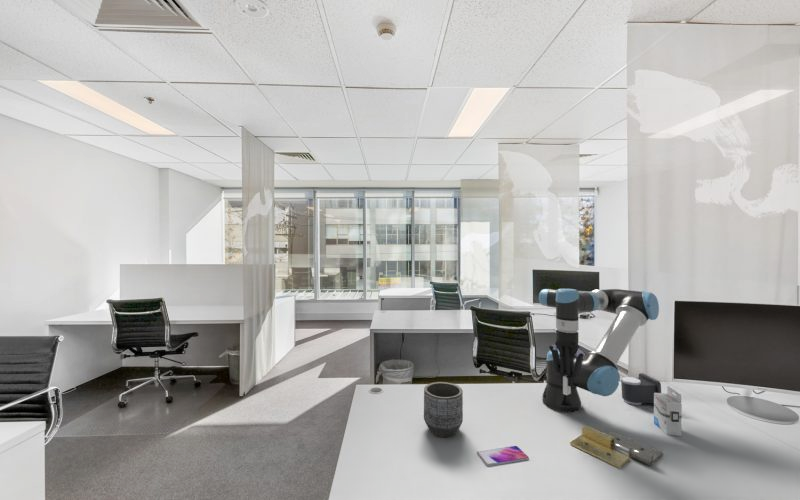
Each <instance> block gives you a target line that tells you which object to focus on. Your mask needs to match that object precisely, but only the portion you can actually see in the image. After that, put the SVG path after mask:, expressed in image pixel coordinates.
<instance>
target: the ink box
mask: <svg viewBox="0 0 800 500" xmlns="http://www.w3.org/2000/svg"><path fill="white" fill-rule="evenodd" d="M666 388H667V390H666V393H662V392H661V393H654V405H653V423H654V424H655V425H656V426H657V427H658V428H659V429H660V430H661V431H662V432H663V433H665V434H666V435H668V436H682V407H683V406H682V394H681V393H679V392H678V391H676V390H674V389H673V388H672V387H671V386H669V385H668V386H666ZM673 393H674V394H673Z"/></svg>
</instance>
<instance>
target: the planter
mask: <svg viewBox="0 0 800 500" xmlns="http://www.w3.org/2000/svg"><path fill="white" fill-rule="evenodd" d="M463 397H464V396H463V388H462V387H461V386H459V385H458V384H455V383H452V382H446V381H445V382H444V381H436V382H431V383H428V384H426V385H425V386H424V389H423V421H424V422H425V425H426V426H427V428H428V430H430V431H429V432H430V433H431V434H433V435H434V436H437V437H441V438H450V437H452V436H454V435H456V433H457V432H458V431H459V430H460V428H461V426H462V424H463V419H464V418H463V416H464V414H463V413H464V412H463V411H464V410H463V406H464V405H463V404H464V401H463V399H464V398H463Z"/></svg>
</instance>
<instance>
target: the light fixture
mask: <svg viewBox="0 0 800 500" xmlns="http://www.w3.org/2000/svg"><path fill="white" fill-rule="evenodd" d="M620 383H621V384H620V385H621V386H620V387H621V398H622V399H623V402H625V403H627V404H629V405H633V406H641V405H642V404H649V403H650V404H652V405H653V406H654V393H662V385H661V381H659V380H657V379H655V378H653V377H651V376H649V375H648V374H645V373H641V372H640V373H638V377H632V376H624V377H622V379H621V380H620Z"/></svg>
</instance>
